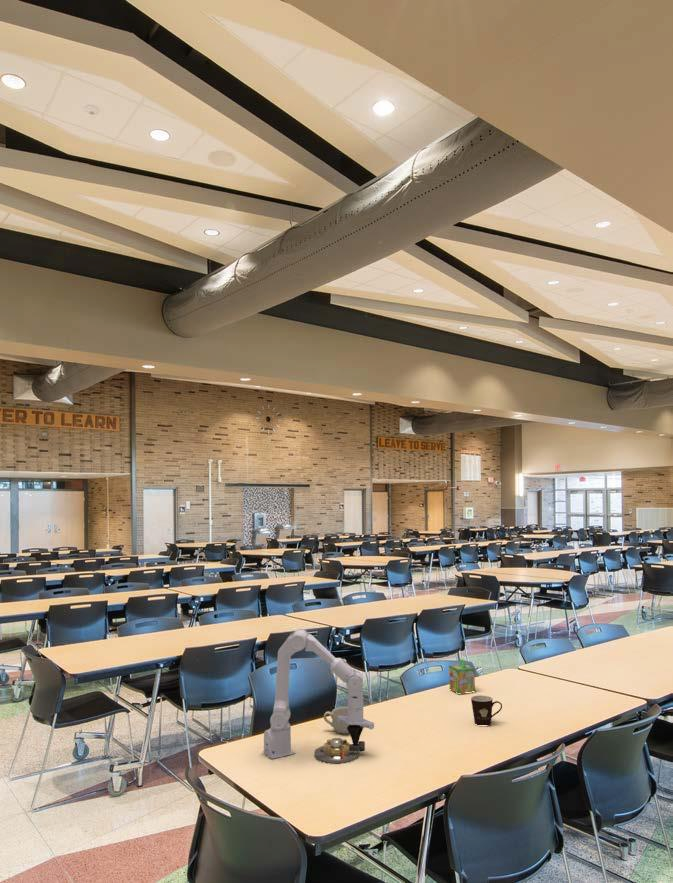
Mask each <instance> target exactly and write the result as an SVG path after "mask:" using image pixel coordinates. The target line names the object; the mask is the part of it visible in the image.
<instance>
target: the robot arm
mask: <svg viewBox="0 0 673 883" xmlns="http://www.w3.org/2000/svg"><path fill="white" fill-rule="evenodd" d="M289 634H290V635H289V636H288V637H287V638H286V640H285V641H284V642H283V644H282V645H281V646H280V647H279V649H278V651H277V664H276V678H275V695H274V696H275V697H274V698H275V699H274V705H273V710H272V714H271V716H270V719H269V724H270V728H269V729H266V730H264V732H263V751H262V752H263V754H265V755H266V756H267V757H269V758H270V759H272V760H274V759H278V758H281V757H286V756H291V755H295V754H296V751H294V750H293V749H292V742H291V741H292V738H291V737H292V736H291V734H292V733H291V732H292V730H291V729H292V728H291V727H292V726H291V723H289V719H290V718H291V716H292V715H291V714H292V713H291V709H290V705H289V704H290V701H289V693H290V692H289V691H290V676H291V675H290V674H291V657H292V656H293V655H294V654H296V653H297V652H300V651H303V650H304V649H305V650H304V651H305V652H313V653H314V654H315V655H317V656H318V657H320V658H321V659H322V660H323V662H325V663H326V664H328V665H329V668H330V670H329V671H330V672H332V673H333V674H334V675H335V676H337V677H338V679H340V680H341V681H342V682H343V683H346V687H347V695H346V696H347V700H346V701H347V707H348V717H347V716H339V717H338V723H346V724H349V726H348V727H347V730H348V731H349V733H350V734H349V735H350V738H351V741H352V744H359V741H360V737H361V734H362V732H363V730H364V728H366V729H369V730H373V729H375V722H374V721H370V720H368V719H365V718H364V693H363V692H364V690H363V686H364V677H363V675H362V673H361V672H360V671H358V670H357V669H356V668H353V667H352V666H350V665H349V663H347V660H346V659H345V658H342V657H335V655H333V654H332V652H330V651H329V650H328V649H327V648H326V647H325V646H324V645H322V644H321V642H320V641H319V640H318V639H316V637H315V636H313V635H312V634H310V633H308V631H307V630H305V629H303V628H298V629H296V630H294V631H293V632H291V633H289Z"/></svg>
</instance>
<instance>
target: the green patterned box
mask: <svg viewBox="0 0 673 883" xmlns="http://www.w3.org/2000/svg"><path fill="white" fill-rule="evenodd" d="M462 663H463V664H462ZM448 667H449V690H450V689H451V690H453V691H455V692H457V693H465V692H472V691H475V692H476V682H475V681H476V679H475V673H476V672H475V668H474V667H473V666H470V665H469V664H466V660H465V659H463V658H460V660H459V664H456V665H455V664H454V665H448ZM451 690H450V691H451ZM453 691H452V692H453ZM455 692H454V693H455Z"/></svg>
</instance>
